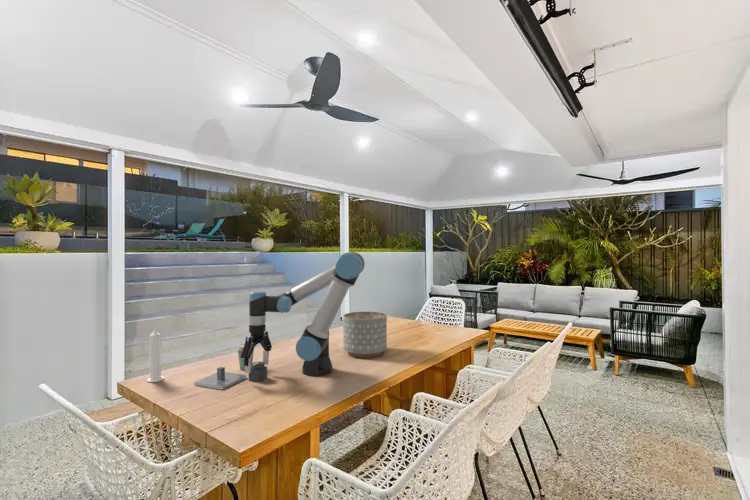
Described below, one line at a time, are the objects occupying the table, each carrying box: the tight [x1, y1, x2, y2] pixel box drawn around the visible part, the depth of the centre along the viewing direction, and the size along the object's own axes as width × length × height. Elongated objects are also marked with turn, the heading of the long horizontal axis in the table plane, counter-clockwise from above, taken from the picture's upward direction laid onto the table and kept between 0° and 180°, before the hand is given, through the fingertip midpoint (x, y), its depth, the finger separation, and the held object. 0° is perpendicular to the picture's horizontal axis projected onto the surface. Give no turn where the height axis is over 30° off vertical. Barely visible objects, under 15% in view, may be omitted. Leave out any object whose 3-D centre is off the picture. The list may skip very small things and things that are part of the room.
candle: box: [146, 327, 165, 383], centre depth 186 cm, size 7×7×25 cm
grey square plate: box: [193, 366, 247, 391], centre depth 183 cm, size 16×16×6 cm
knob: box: [248, 361, 268, 383], centre depth 187 cm, size 6×6×8 cm
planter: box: [342, 311, 388, 359], centre depth 230 cm, size 26×26×22 cm
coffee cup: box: [236, 343, 255, 371], centre depth 203 cm, size 8×8×12 cm
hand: (256, 368), depth 187 cm, fingers open, 13 cm apart
